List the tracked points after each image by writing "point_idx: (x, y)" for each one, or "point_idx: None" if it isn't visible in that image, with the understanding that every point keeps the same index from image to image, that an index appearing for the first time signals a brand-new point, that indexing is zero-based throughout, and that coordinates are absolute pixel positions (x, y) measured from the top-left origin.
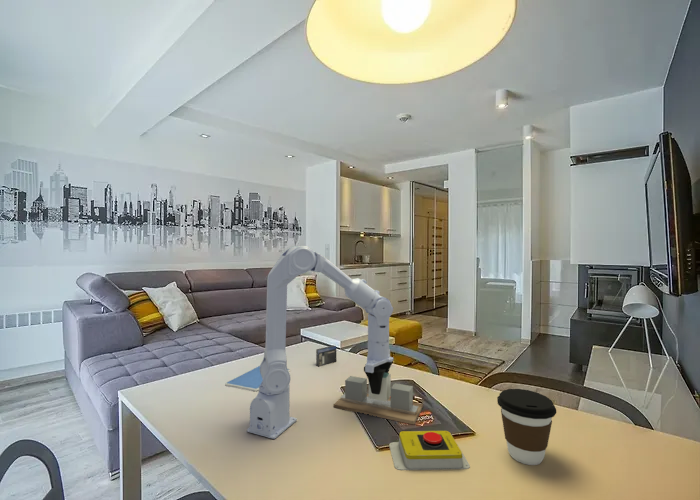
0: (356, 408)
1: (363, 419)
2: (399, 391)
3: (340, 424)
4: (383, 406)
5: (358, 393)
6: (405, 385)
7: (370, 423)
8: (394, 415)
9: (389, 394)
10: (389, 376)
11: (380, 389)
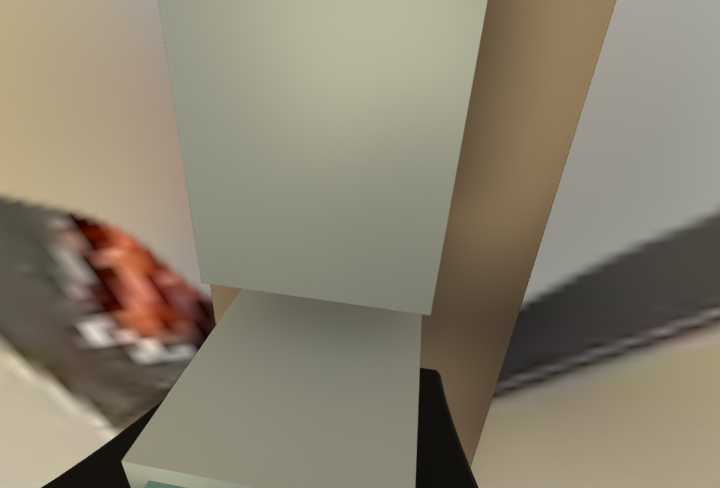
0: (475, 411)
1: (585, 341)
2: (456, 150)
3: (676, 445)
4: None
5: None
6: (187, 76)
7: (648, 289)
8: (542, 123)
9: None
10: (215, 456)
11: (425, 404)
